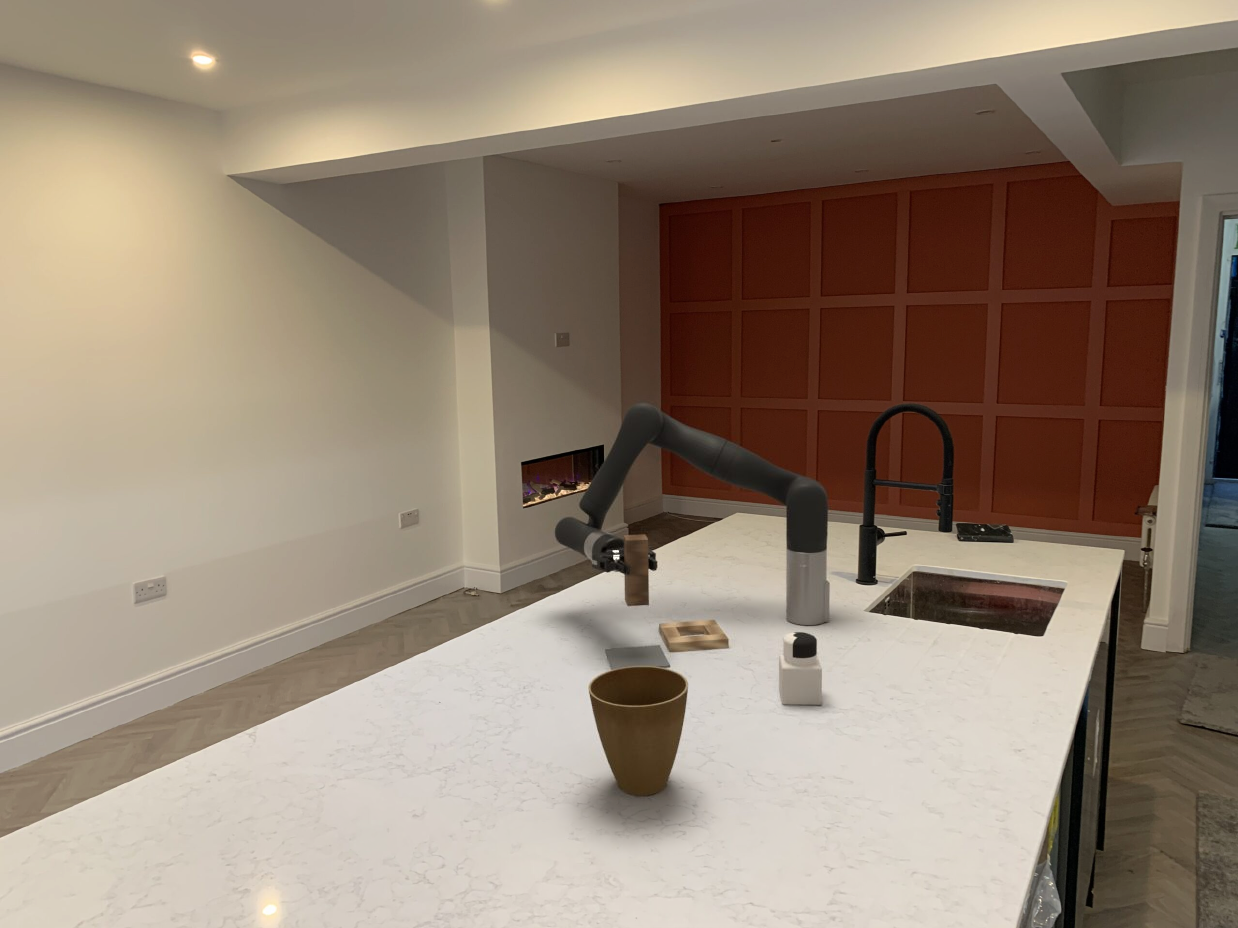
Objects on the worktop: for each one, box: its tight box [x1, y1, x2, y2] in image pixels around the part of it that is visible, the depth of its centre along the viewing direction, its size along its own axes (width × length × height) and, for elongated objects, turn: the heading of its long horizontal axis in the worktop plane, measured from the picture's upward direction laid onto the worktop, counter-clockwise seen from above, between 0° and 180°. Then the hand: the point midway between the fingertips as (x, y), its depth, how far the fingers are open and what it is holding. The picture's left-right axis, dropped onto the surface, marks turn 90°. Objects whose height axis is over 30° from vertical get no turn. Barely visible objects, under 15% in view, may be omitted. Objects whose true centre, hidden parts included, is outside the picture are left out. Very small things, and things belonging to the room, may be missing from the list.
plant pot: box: [588, 666, 689, 797], centre depth 130 cm, size 15×15×16 cm
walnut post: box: [623, 534, 650, 607], centre depth 181 cm, size 4×4×14 cm
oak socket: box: [658, 619, 730, 653], centre depth 193 cm, size 13×13×2 cm
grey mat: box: [604, 644, 671, 670], centre depth 182 cm, size 12×12×1 cm
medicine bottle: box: [778, 631, 823, 706], centre depth 160 cm, size 7×7×12 cm
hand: (641, 567), depth 178 cm, fingers closed on walnut post, 5 cm apart
